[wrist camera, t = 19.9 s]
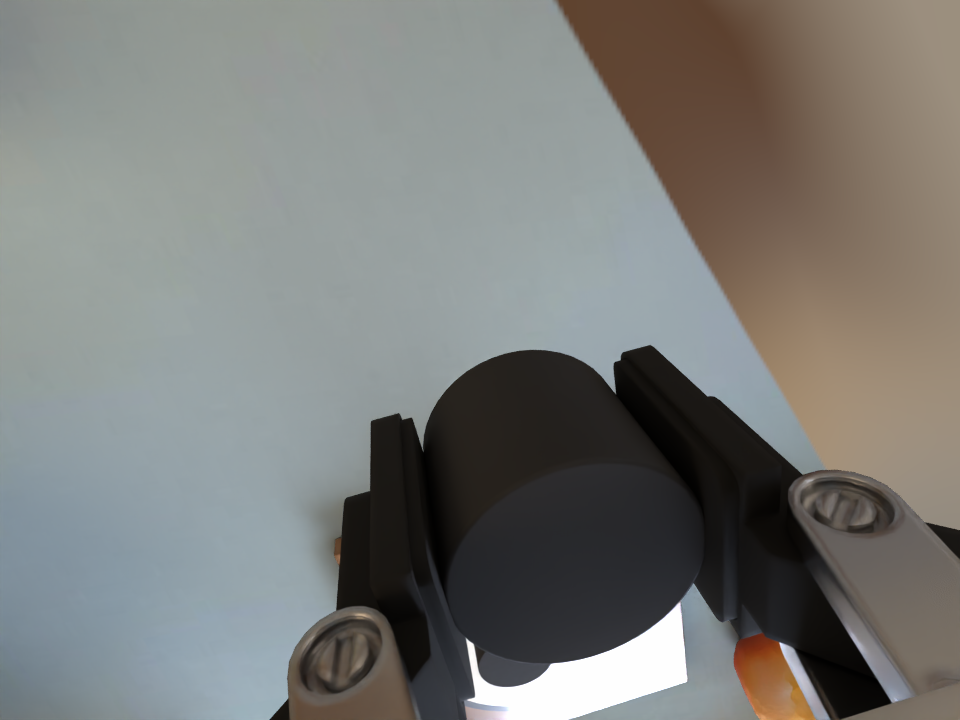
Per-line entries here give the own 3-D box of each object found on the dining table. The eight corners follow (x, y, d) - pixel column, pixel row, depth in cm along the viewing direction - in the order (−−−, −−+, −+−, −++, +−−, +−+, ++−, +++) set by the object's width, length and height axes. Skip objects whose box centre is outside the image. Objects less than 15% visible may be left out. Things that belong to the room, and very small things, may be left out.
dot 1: (529, 571, 31) (547, 625, 28) (542, 618, 33) (559, 673, 30) (460, 593, 31) (470, 649, 28) (477, 638, 33) (487, 696, 29)
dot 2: (607, 324, 10) (707, 424, 7) (625, 487, 12) (711, 623, 9) (398, 380, 10) (409, 509, 7) (448, 538, 12) (475, 695, 9)
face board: (657, 442, 30) (669, 457, 29) (679, 665, 39) (689, 684, 38) (335, 538, 29) (333, 558, 28) (434, 743, 39) (436, 764, 37)
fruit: (779, 707, 41) (819, 797, 33) (701, 624, 42) (723, 693, 34) (870, 643, 40) (936, 722, 32) (788, 559, 40) (832, 616, 33)
